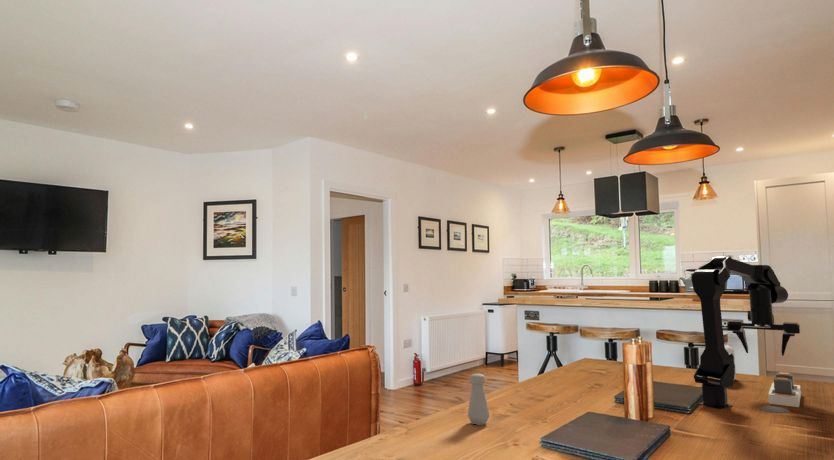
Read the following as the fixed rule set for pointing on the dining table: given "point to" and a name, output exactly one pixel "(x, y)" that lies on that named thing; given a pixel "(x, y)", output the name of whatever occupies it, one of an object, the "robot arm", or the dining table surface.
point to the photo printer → (733, 355)
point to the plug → (783, 386)
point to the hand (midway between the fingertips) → (764, 354)
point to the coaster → (774, 409)
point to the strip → (783, 398)
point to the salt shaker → (478, 400)
